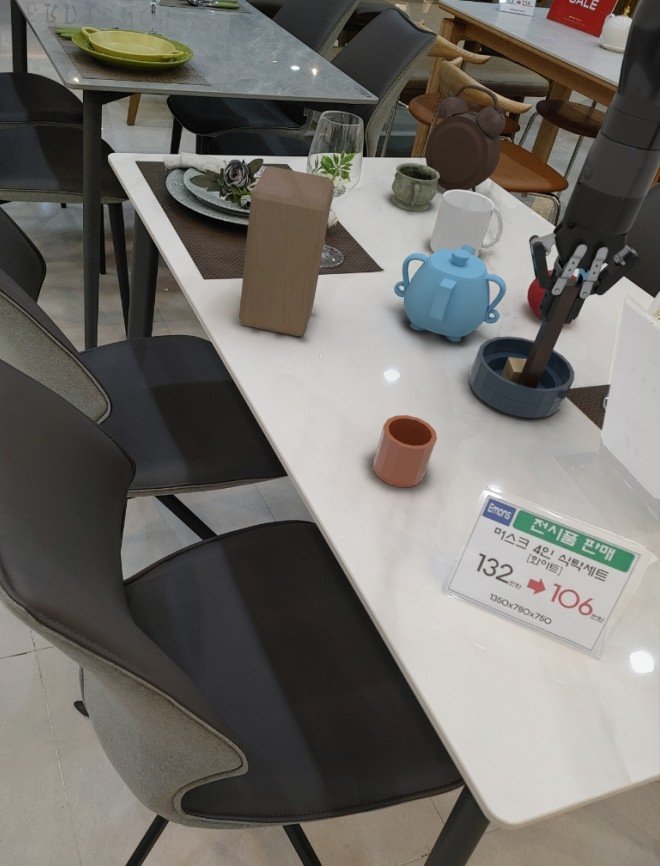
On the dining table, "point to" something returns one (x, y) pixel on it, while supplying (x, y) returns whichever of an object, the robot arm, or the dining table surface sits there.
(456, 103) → the alarm clock
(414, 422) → the holder
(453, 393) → the dining table surface
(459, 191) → the mug
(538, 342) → the stick
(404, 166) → the vessel
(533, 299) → the tomato
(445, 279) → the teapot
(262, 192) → the wooden block
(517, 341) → the bowl
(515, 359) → the block
